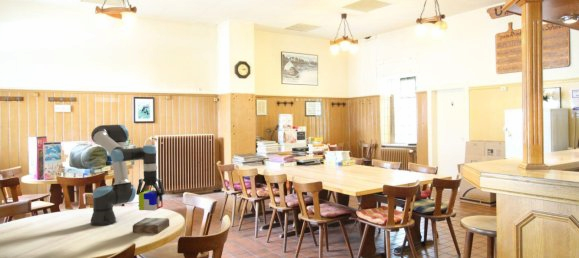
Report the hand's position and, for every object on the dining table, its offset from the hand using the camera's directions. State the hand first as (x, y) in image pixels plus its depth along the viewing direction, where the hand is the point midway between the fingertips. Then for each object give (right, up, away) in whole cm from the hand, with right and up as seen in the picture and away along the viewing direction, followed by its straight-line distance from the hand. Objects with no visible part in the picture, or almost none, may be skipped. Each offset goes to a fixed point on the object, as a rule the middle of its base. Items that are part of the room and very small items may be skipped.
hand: (151, 206), depth 247 cm
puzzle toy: (0, -2, 0) cm, 2 cm away
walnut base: (0, -14, +1) cm, 14 cm away
